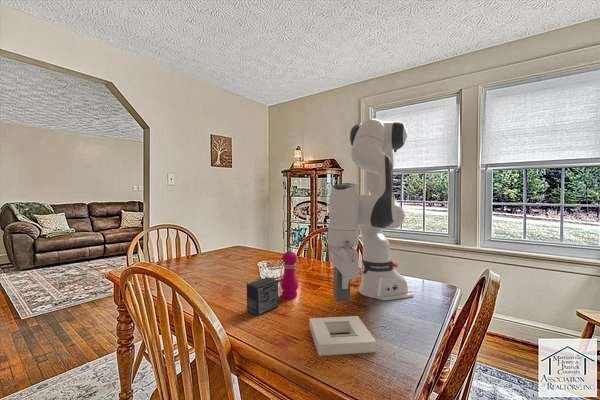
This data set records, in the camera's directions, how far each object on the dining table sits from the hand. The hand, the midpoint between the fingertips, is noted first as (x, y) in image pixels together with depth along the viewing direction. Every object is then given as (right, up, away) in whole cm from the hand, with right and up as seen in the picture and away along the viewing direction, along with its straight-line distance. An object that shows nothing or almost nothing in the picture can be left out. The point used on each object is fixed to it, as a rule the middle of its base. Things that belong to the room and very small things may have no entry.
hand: (342, 285), depth 87 cm
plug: (0, -4, 0) cm, 4 cm away
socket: (0, -16, +1) cm, 16 cm away
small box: (-26, -16, +22) cm, 37 cm away
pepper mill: (-17, -15, +35) cm, 42 cm away
